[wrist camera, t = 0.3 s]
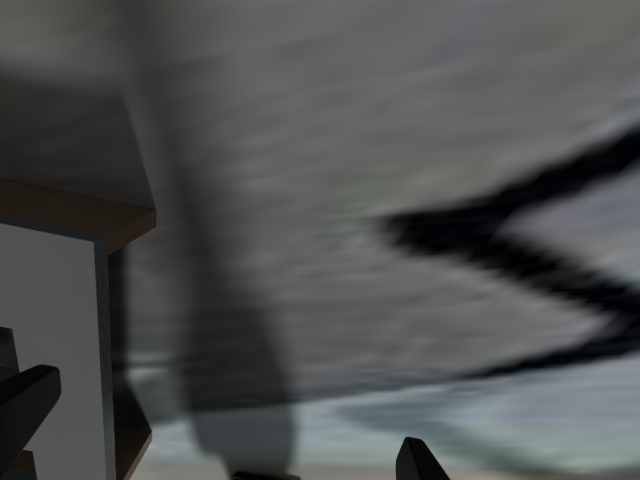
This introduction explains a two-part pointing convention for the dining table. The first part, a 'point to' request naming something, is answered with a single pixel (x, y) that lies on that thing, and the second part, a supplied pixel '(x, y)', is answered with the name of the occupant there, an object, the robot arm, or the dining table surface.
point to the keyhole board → (67, 325)
